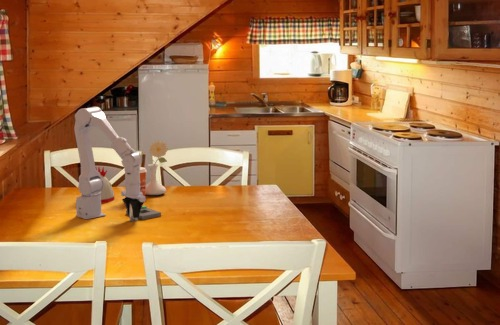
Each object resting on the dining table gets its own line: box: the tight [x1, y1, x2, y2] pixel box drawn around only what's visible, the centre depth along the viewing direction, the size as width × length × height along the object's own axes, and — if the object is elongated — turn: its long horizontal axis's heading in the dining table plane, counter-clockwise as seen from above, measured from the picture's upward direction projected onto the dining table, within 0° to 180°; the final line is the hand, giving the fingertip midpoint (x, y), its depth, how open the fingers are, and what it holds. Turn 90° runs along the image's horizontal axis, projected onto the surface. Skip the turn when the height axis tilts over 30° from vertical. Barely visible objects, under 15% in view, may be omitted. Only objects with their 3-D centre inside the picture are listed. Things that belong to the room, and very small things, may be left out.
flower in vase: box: [145, 140, 168, 196], centre depth 318 cm, size 13×11×25 cm
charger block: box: [125, 205, 162, 221], centre depth 283 cm, size 9×12×2 cm
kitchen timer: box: [95, 166, 115, 204], centre depth 308 cm, size 14×14×15 cm
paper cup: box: [140, 166, 148, 197], centre depth 309 cm, size 8×8×14 cm
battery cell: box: [129, 203, 139, 223], centre depth 274 cm, size 3×3×8 cm
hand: (133, 216), depth 274 cm, fingers closed on battery cell, 3 cm apart
